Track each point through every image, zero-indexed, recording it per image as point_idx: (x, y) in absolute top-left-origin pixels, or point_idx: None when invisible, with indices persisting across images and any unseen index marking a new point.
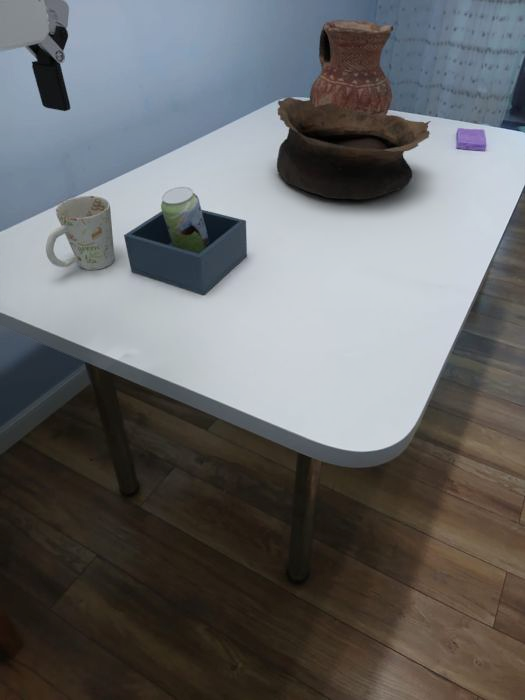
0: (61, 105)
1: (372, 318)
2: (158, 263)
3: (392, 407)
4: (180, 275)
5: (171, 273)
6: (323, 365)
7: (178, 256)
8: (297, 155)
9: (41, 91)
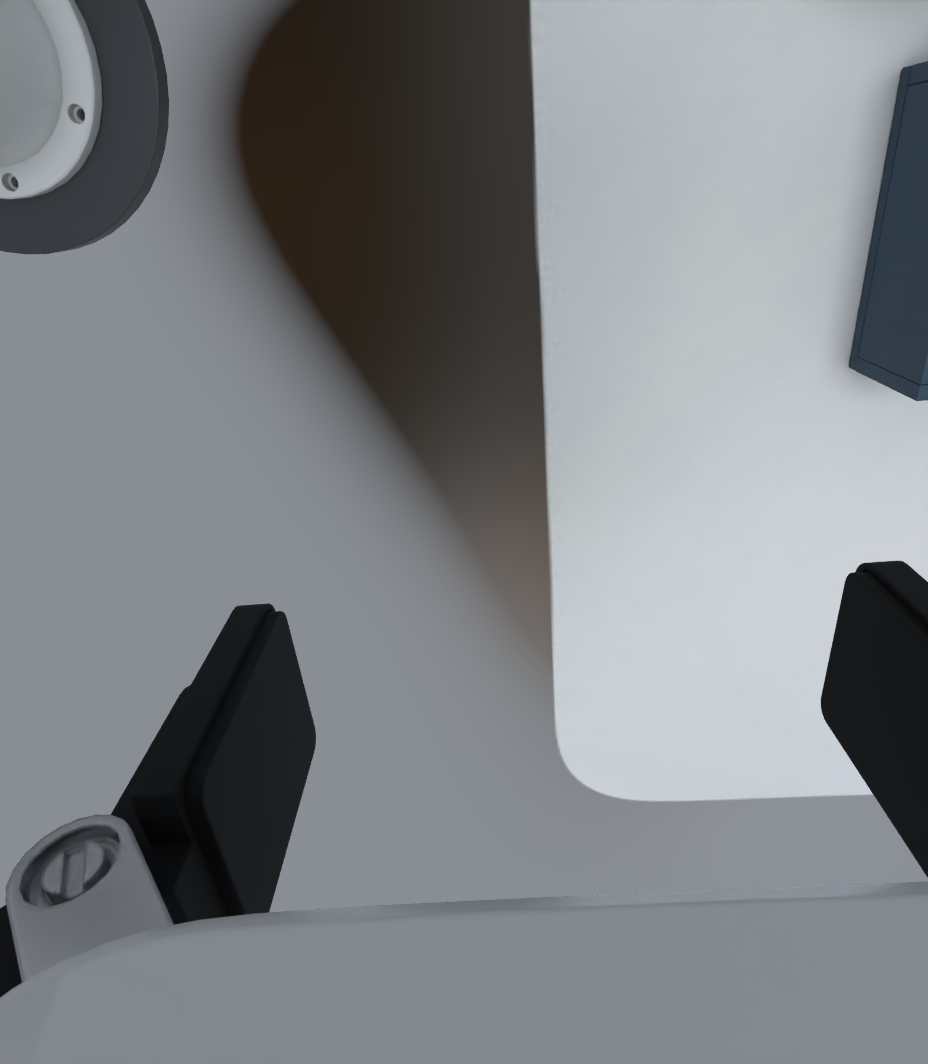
0: (833, 715)
1: None
2: (913, 213)
3: (664, 777)
4: (884, 300)
5: (890, 263)
6: (711, 678)
7: (923, 312)
8: None
9: (895, 639)
